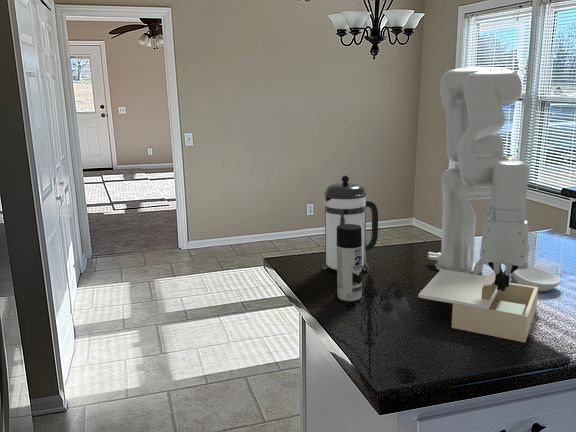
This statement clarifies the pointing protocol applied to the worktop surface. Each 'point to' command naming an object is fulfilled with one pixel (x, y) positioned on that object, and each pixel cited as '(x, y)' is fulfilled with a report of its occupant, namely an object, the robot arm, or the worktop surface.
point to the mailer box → (501, 314)
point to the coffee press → (347, 217)
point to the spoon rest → (529, 277)
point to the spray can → (349, 262)
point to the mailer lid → (461, 289)
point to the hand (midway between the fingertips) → (501, 288)
